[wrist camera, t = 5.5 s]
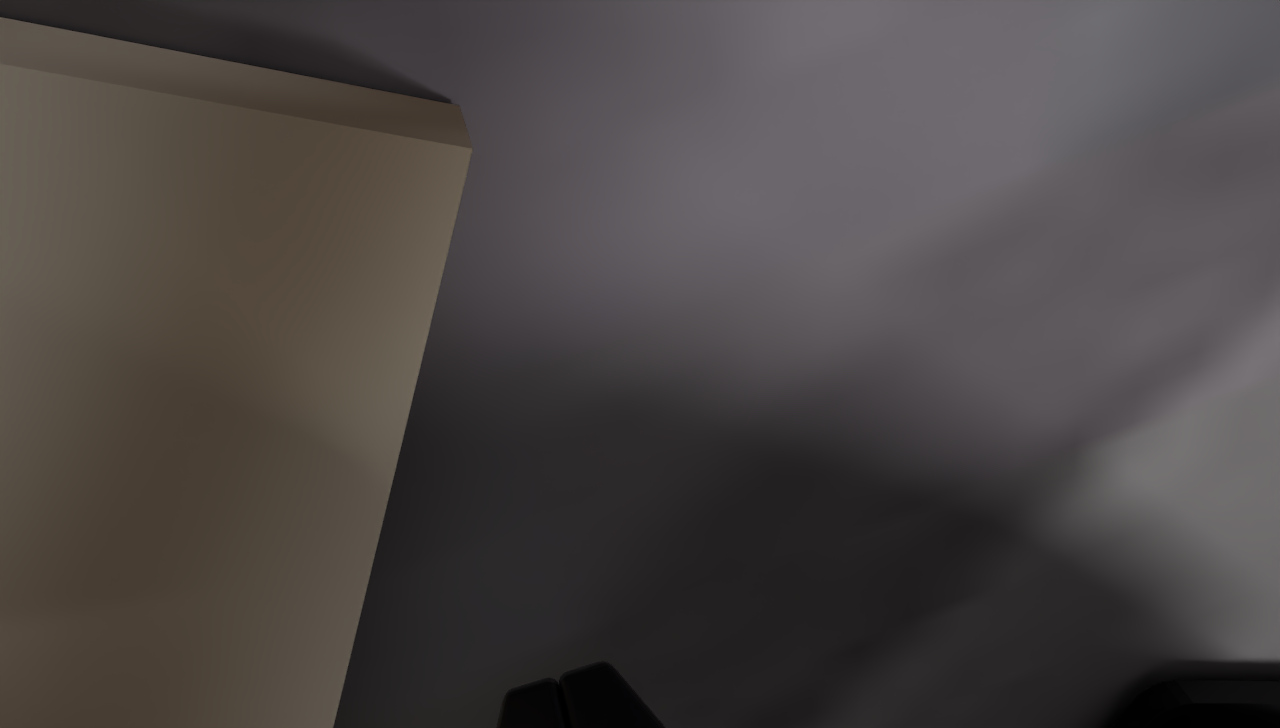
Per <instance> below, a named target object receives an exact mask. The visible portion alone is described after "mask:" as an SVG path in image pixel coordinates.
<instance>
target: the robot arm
mask: <svg viewBox="0 0 1280 728" xmlns="http://www.w3.org/2000/svg"><path fill="white" fill-rule="evenodd" d="M559 685H560V686H559ZM496 728H665V726H664V725H663V724H662V723H661V722H660V721H659V719H658V718H657V717H656V716H655V715H654V713H653V712H652V711H651V710H650V709H649V708H648V706H647V705H646V704H645V703H644V702H643V701H642V699H641V698H640V697H639V696H638V695H637V694H636V692H635V691H634V690H633V689H632V688H631V687H630V685H629V684H628V683H627V682H626V681H625V679H624V678H623V677H622V676H621V675H620V674H619V672H618V671H617V670H616V669H615V668H614V667H613V666H612V665H611V664H609V663H607V662H604V661H601V662H597V663H593V664H590V665H587V666H584V667H580V668H577V669H574V670H571V671H567V672H565V673H564V674H563V675H562V676H561V677H560V680H559V684H558V682H557V681H556V680H555V679H553V678H545V679H541V680H538V681H535V682H532V683H528V684H525V685H522V686H519V687H515V688H513V689H511V690H509V691H508V692H507V693H506V695H505V697H504V699H503V702H502V706H501V710H500V714H499V719H498V723H497V727H496ZM1112 728H1280V681H1207V680H1173V681H1166V682H1162V683H1159V684H1157V685H1155V686H1152V687H1150V688H1148V689H1147V690H1145V691H1144V692H1142V693H1141V694H1139V695H1138V696H1137V697H1136V698H1135V699H1134V700H1133V701H1132V702H1131V703H1130V704H1129V705H1128V707H1127V708H1126V710H1125V711H1124V712H1123V714H1122V715H1121V716H1120V718H1119V719H1118V720H1117V722H1116V723H1115V725H1114V726H1113V727H1112Z"/></svg>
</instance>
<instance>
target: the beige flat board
mask: <svg viewBox="0 0 1280 728" xmlns="http://www.w3.org/2000/svg"><path fill="white" fill-rule="evenodd" d="M472 151H473V148H472V144H471V141H470V138H469V135H468V132H467V129H466V126H465V122H464V119H463V116H462V113H461V110H460V107H459V106H458V105H453V104H448V103H443V102H438V101H432V100H427V99H422V98H417V97H412V96H407V95H401V94H396V93H391V92H386V91H381V90H376V89H370V88H365V87H360V86H355V85H350V84H344V83H339V82H334V81H329V80H324V79H319V78H313V77H308V76H303V75H298V74H293V73H287V72H282V71H277V70H272V69H267V68H262V67H256V66H251V65H246V64H241V63H236V62H231V61H225V60H220V59H215V58H210V57H205V56H199V55H194V54H189V53H184V52H179V51H174V50H168V49H163V48H158V47H153V46H148V45H143V44H137V43H132V42H127V41H122V40H117V39H111V38H106V37H101V36H96V35H91V34H86V33H80V32H75V31H70V30H65V29H60V28H54V27H49V26H44V25H39V24H34V23H29V22H23V21H18V20H13V19H8V18H3V17H0V728H333V726H334V722H335V718H336V714H337V710H338V706H339V702H340V697H341V693H342V689H343V685H344V681H345V677H346V673H347V668H348V664H349V660H350V656H351V652H352V648H353V644H354V639H355V635H356V631H357V627H358V623H359V619H360V615H361V610H362V606H363V602H364V598H365V594H366V590H367V586H368V581H369V577H370V573H371V569H372V565H373V561H374V557H375V552H376V548H377V544H378V540H379V536H380V532H381V528H382V523H383V519H384V515H385V511H386V507H387V503H388V499H389V494H390V490H391V486H392V482H393V478H394V474H395V470H396V465H397V461H398V457H399V453H400V449H401V445H402V441H403V436H404V432H405V428H406V424H407V420H408V416H409V412H410V407H411V403H412V399H413V395H414V391H415V387H416V383H417V378H418V374H419V370H420V366H421V362H422V358H423V354H424V349H425V345H426V341H427V337H428V333H429V329H430V325H431V320H432V316H433V312H434V308H435V304H436V300H437V296H438V291H439V287H440V283H441V279H442V275H443V271H444V267H445V262H446V258H447V254H448V250H449V246H450V242H451V238H452V233H453V229H454V225H455V221H456V217H457V213H458V209H459V204H460V200H461V196H462V192H463V188H464V184H465V180H466V175H467V171H468V167H469V163H470V159H471V155H472Z"/></svg>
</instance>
